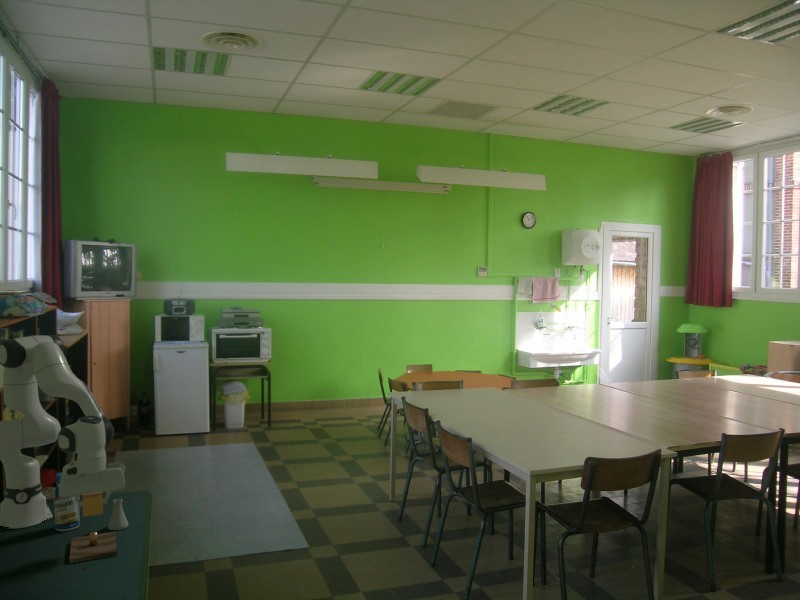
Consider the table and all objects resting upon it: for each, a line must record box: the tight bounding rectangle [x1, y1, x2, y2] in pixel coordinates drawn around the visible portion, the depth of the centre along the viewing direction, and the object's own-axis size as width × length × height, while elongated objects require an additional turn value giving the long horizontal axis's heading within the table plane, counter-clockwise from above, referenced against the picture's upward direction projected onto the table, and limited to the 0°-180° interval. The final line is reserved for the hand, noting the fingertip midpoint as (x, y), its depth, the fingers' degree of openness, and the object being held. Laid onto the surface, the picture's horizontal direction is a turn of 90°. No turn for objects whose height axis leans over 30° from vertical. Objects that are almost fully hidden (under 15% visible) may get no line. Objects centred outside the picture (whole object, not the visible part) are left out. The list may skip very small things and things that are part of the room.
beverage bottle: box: [53, 471, 81, 532], centre depth 238 cm, size 8×8×20 cm
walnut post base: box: [68, 531, 118, 564], centre depth 219 cm, size 18×14×6 cm
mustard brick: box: [82, 492, 104, 518], centre depth 219 cm, size 6×6×6 cm
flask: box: [107, 498, 130, 531], centre depth 238 cm, size 7×7×10 cm
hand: (92, 505), depth 218 cm, fingers closed on mustard brick, 6 cm apart
